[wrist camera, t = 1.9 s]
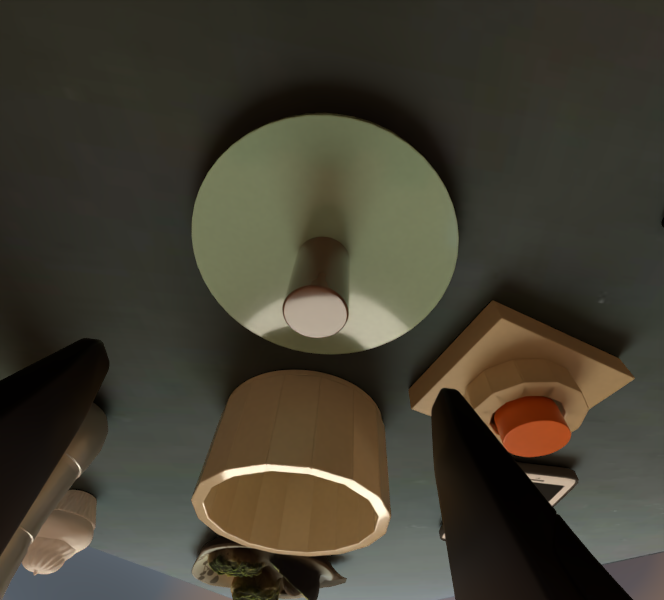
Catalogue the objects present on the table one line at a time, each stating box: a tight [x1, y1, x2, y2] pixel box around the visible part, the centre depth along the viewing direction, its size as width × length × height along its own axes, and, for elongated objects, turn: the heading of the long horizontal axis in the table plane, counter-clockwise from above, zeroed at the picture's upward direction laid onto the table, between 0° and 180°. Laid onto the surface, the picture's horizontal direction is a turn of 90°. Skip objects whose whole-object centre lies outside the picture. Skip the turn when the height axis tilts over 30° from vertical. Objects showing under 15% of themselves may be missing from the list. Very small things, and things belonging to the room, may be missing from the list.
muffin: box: [22, 490, 97, 575], centre depth 36 cm, size 6×6×7 cm
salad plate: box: [192, 535, 347, 600], centre depth 46 cm, size 19×18×5 cm
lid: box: [192, 113, 459, 354], centre depth 17 cm, size 14×14×6 cm
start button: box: [494, 396, 571, 457], centre depth 21 cm, size 4×4×2 cm
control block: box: [409, 300, 635, 445], centre depth 23 cm, size 10×9×4 cm
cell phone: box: [439, 462, 578, 541], centre depth 34 cm, size 8×15×1 cm, turn 173°
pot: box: [191, 369, 391, 556], centre depth 26 cm, size 13×13×7 cm
